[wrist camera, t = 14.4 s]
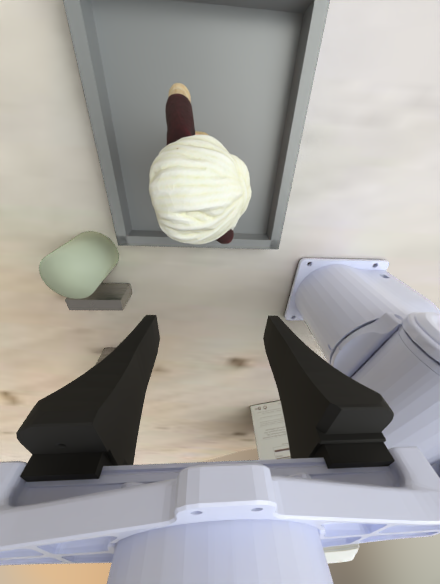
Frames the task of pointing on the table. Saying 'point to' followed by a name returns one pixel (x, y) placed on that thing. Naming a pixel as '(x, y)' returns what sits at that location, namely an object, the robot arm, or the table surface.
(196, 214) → the grandmother figurine
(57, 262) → the pale green rounded block
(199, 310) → the table surface
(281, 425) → the supplement box
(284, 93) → the tray
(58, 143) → the table surface
